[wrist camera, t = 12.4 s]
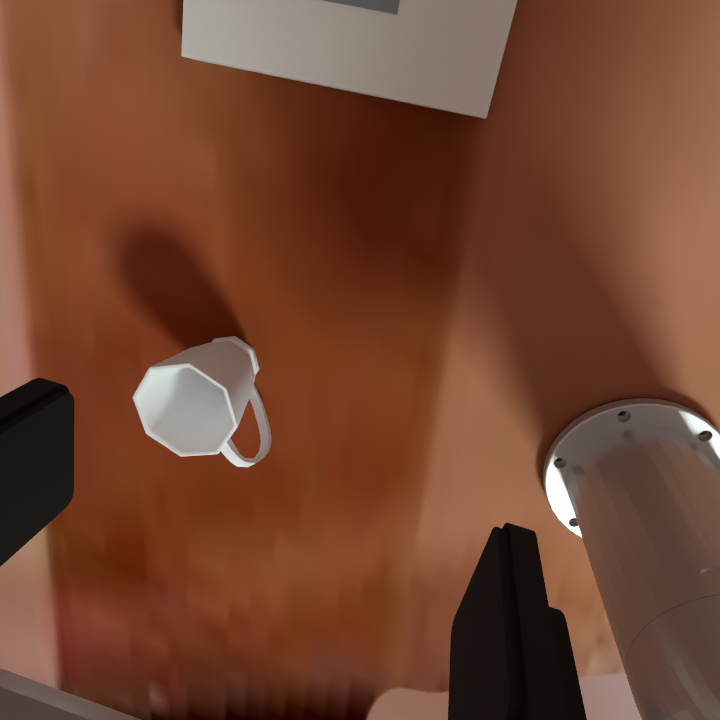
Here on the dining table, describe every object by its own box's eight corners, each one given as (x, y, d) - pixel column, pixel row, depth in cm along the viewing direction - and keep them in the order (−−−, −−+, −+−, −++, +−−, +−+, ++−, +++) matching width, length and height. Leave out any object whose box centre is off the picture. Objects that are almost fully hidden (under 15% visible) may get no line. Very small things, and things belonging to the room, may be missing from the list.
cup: (239, 301, 38) (190, 342, 31) (315, 409, 41) (286, 469, 34) (171, 344, 41) (110, 391, 34) (246, 443, 43) (205, 507, 36)
